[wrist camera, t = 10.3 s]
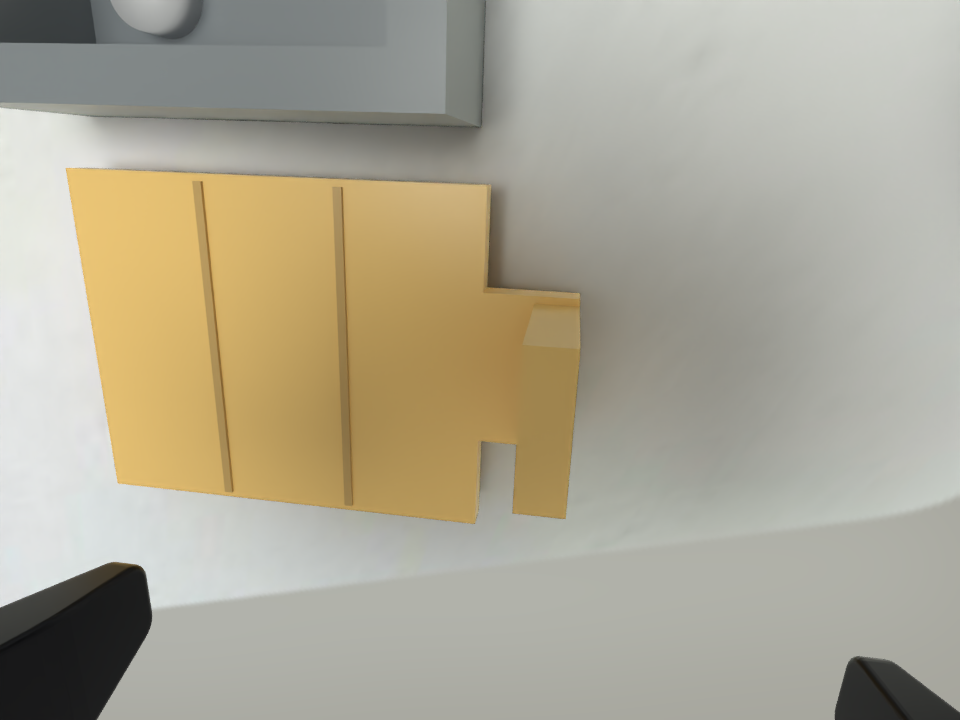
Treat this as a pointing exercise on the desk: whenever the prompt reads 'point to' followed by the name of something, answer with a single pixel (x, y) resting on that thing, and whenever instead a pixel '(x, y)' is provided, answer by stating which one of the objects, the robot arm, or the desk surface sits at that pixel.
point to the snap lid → (321, 342)
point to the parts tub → (247, 59)
